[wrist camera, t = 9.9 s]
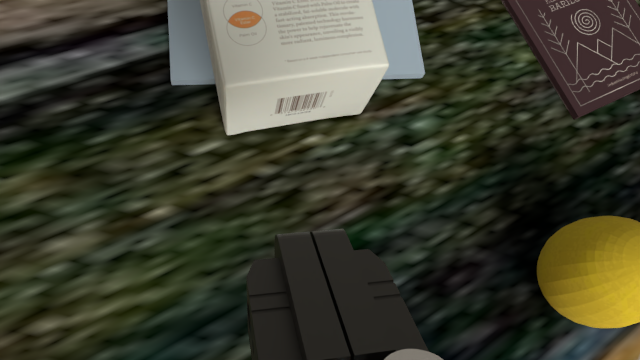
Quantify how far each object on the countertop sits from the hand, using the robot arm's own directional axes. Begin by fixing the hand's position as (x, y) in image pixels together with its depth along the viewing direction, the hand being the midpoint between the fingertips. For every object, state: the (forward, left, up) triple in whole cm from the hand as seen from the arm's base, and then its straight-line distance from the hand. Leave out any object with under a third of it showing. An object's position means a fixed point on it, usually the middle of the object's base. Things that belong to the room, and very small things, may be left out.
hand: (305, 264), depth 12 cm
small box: (+3, +9, -13) cm, 17 cm away
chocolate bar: (+22, +20, -18) cm, 34 cm away
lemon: (+17, 0, -17) cm, 24 cm away
